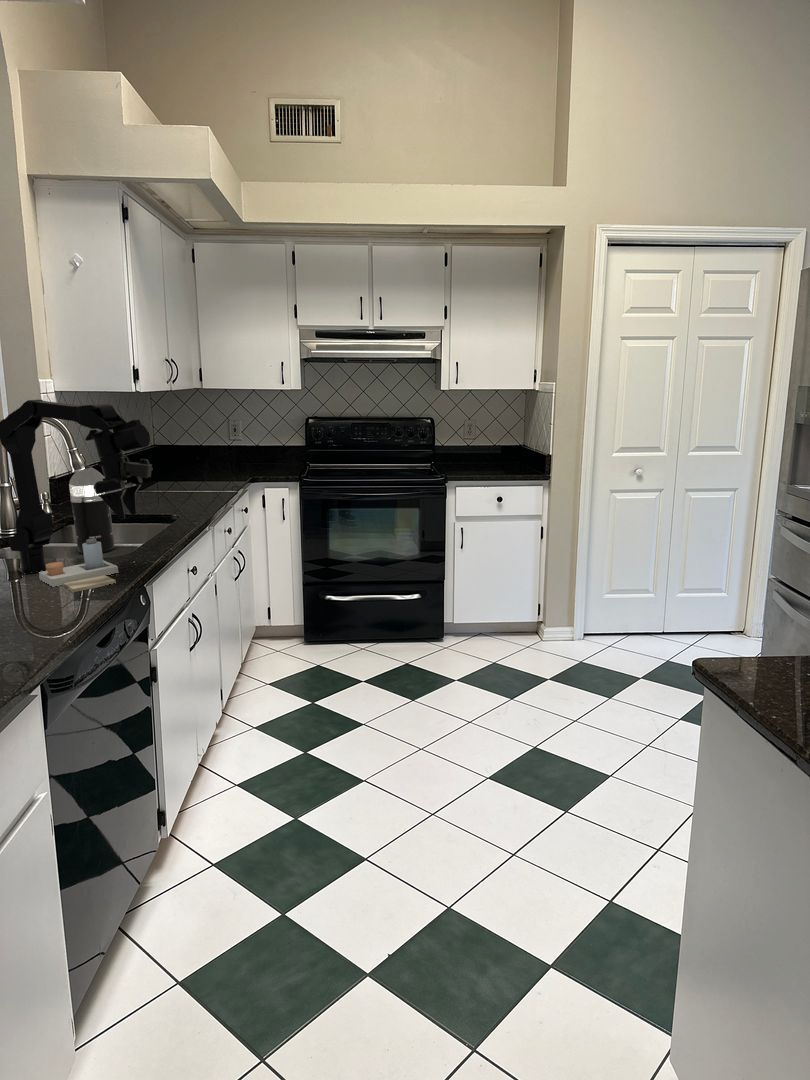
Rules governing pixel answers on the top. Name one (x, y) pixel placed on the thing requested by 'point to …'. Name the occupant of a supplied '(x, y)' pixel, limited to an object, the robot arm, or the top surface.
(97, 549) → the cylinder
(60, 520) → the top surface
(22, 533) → the robot arm
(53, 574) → the plunger
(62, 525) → the top surface
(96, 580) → the pad
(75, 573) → the white tray
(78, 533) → the black cylindrical canister
